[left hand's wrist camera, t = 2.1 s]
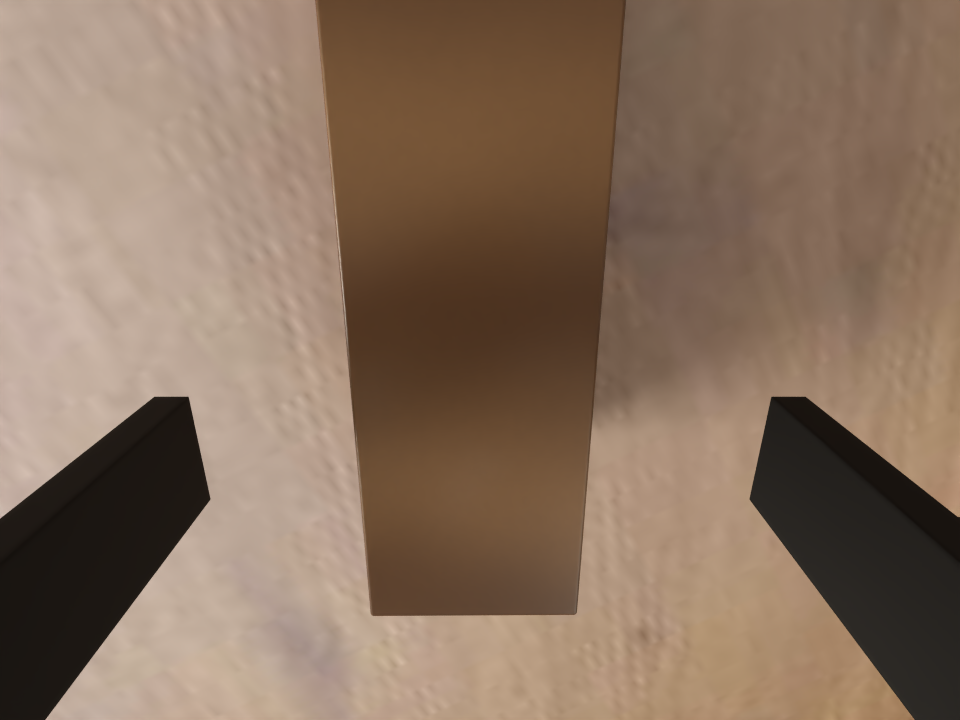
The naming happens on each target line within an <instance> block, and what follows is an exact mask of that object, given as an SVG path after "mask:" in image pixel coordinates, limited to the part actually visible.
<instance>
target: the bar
mask: <svg viewBox="0 0 960 720" xmlns="http://www.w3.org/2000/svg"><path fill="white" fill-rule="evenodd" d="M315 2H316V13H317V24H318V35H319V46H320V57H321V68H322V79H323V90H324V101H325V112H326V124H327V135H328V146H329V157H330V168H331V179H332V190H333V201H334V212H335V223H336V234H337V245H338V256H339V267H340V278H341V289H342V300H343V311H344V322H345V333H346V344H347V355H348V366H349V378H350V389H351V400H352V411H353V422H354V433H355V444H356V455H357V466H358V477H359V488H360V499H361V510H362V521H363V532H364V543H365V554H366V565H367V576H368V587H369V598H370V609H371V614H372V615H373V616H432V615H575V614H576V613H577V604H578V591H579V579H580V566H581V554H582V541H583V529H584V516H585V504H586V492H587V479H588V467H589V454H590V442H591V429H592V417H593V404H594V392H595V379H596V367H597V354H598V342H599V330H600V317H601V305H602V292H603V280H604V267H605V255H606V242H607V230H608V217H609V205H610V192H611V180H612V168H613V155H614V143H615V130H616V118H617V105H618V93H619V80H620V68H621V55H622V43H623V30H624V18H625V5H626V0H315Z"/></svg>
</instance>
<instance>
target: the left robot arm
mask: <svg viewBox="0 0 960 720" xmlns="http://www.w3.org/2000/svg"><path fill="white" fill-rule="evenodd" d="M209 501H210V495H209V490H208V486H207V481H206V476H205V472H204V467H203V462H202V458H201V453H200V448H199V443H198V439H197V434H196V429H195V425H194V420H193V415H192V411H191V406H190V401H189V397H154V398H152V399H151V400H150V401H149V402H147V403H146V404H145V405H144V406H142V407H141V408H140V409H138V410H137V411H136V412H135V413H133V414H132V415H131V416H130V417H128V418H127V419H126V420H125V421H123V422H122V423H121V424H119V425H118V426H117V427H116V428H114V429H113V430H112V431H111V432H109V433H108V434H107V435H106V436H104V437H103V438H102V439H101V440H99V441H98V442H97V443H95V444H94V445H93V446H92V447H90V448H89V449H88V450H87V451H85V452H84V453H83V454H82V455H80V456H79V457H78V458H76V459H75V460H74V461H73V462H71V463H70V464H69V465H68V466H66V467H65V468H64V469H63V470H61V471H60V472H59V473H57V474H56V475H55V476H54V477H52V478H51V479H50V480H49V481H47V482H46V483H45V484H44V485H42V486H41V487H40V488H38V489H37V490H36V491H35V492H33V493H32V494H31V495H30V496H28V497H27V498H26V499H25V500H23V501H22V502H21V503H20V504H18V505H17V506H16V507H14V508H13V509H12V510H11V511H9V512H8V513H7V514H6V515H4V516H3V517H2V518H1V519H0V720H45V719H46V718H47V717H48V715H49V714H50V713H51V711H52V710H53V709H54V707H55V706H56V705H57V703H58V702H59V701H60V699H61V698H62V697H63V695H64V694H65V693H66V691H67V690H68V689H69V687H70V686H71V685H72V683H73V682H74V681H75V679H76V678H77V677H78V675H79V674H80V673H81V671H82V670H83V669H84V667H85V666H86V665H87V663H88V662H89V661H90V659H91V658H92V657H93V655H94V654H95V653H96V651H97V650H98V649H99V647H100V646H101V645H102V643H103V642H104V641H105V639H106V638H107V637H108V635H109V634H110V633H111V631H112V630H113V629H114V627H115V626H116V625H117V623H118V622H119V621H120V619H121V618H122V617H123V615H124V614H125V613H126V611H127V610H128V609H129V607H130V606H131V605H132V603H133V602H134V601H135V599H136V598H137V597H138V595H139V594H140V593H141V591H142V590H143V589H144V587H145V586H146V585H147V583H148V582H149V581H150V579H151V578H152V577H153V575H154V574H155V573H156V571H157V570H158V569H159V567H160V566H161V565H162V563H163V562H164V561H165V559H166V558H167V557H168V555H169V554H170V553H171V551H172V550H173V549H174V547H175V546H176V545H177V543H178V542H179V541H180V539H181V538H182V537H183V535H184V534H185V533H186V531H187V530H188V529H189V527H190V526H191V525H192V523H193V522H194V521H195V519H196V518H197V517H198V515H199V514H200V513H201V511H202V510H203V509H204V507H205V506H206V505H207V503H208V502H209ZM750 501H751V502H752V503H753V505H754V506H755V507H756V509H757V510H758V511H759V513H760V514H761V515H762V517H763V518H764V519H765V521H766V522H767V523H768V525H769V526H770V527H771V529H772V530H773V531H774V533H775V534H776V535H777V537H778V538H779V539H780V541H781V542H782V543H783V545H784V546H785V547H786V549H787V550H788V551H789V553H790V554H791V555H792V557H793V558H794V559H795V561H796V562H797V563H798V565H799V566H800V567H801V569H802V570H803V571H804V573H805V574H806V575H807V577H808V578H809V579H810V581H811V582H812V583H813V585H814V586H815V587H816V589H817V590H818V591H819V593H820V594H821V595H822V597H823V598H824V599H825V601H826V602H827V603H828V605H829V606H830V607H831V609H832V610H833V611H834V613H835V614H836V615H837V617H838V618H839V619H840V621H841V622H842V623H843V625H844V626H845V627H846V629H847V630H848V631H849V633H850V634H851V635H852V637H853V638H854V639H855V641H856V642H857V643H858V645H859V646H860V647H861V649H862V650H863V651H864V653H865V654H866V655H867V657H868V658H869V659H870V661H871V662H872V663H873V665H874V666H875V667H876V669H877V670H878V671H879V673H880V674H881V675H882V677H883V678H884V679H885V681H886V682H887V683H888V685H889V686H890V687H891V689H892V690H893V691H894V693H895V694H896V695H897V697H898V698H899V699H900V701H901V702H902V703H903V705H904V706H905V707H906V709H907V710H908V711H909V713H910V714H911V715H912V717H913V718H914V719H915V720H960V517H957V516H956V515H954V514H953V513H952V512H951V511H949V510H948V509H947V508H946V507H944V506H943V505H942V504H940V503H939V502H938V501H937V500H935V499H934V498H933V497H932V496H930V495H929V494H928V493H927V492H925V491H924V490H923V489H922V488H920V487H919V486H918V485H916V484H915V483H914V482H913V481H911V480H910V479H909V478H908V477H906V476H905V475H904V474H903V473H901V472H900V471H899V470H897V469H896V468H895V467H894V466H892V465H891V464H890V463H889V462H887V461H886V460H885V459H884V458H882V457H881V456H880V455H878V454H877V453H876V452H875V451H873V450H872V449H871V448H870V447H868V446H867V445H866V444H865V443H863V442H862V441H861V440H859V439H858V438H857V437H856V436H854V435H853V434H852V433H851V432H849V431H848V430H847V429H846V428H844V427H843V426H842V425H841V424H839V423H838V422H837V421H835V420H834V419H833V418H832V417H830V416H829V415H828V414H827V413H825V412H824V411H823V410H822V409H820V408H819V407H818V406H816V405H815V404H814V403H813V402H811V401H810V400H809V399H808V398H806V397H771V401H770V406H769V411H768V415H767V420H766V425H765V429H764V434H763V439H762V443H761V448H760V453H759V457H758V462H757V467H756V472H755V476H754V481H753V486H752V490H751V495H750Z"/></svg>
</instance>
